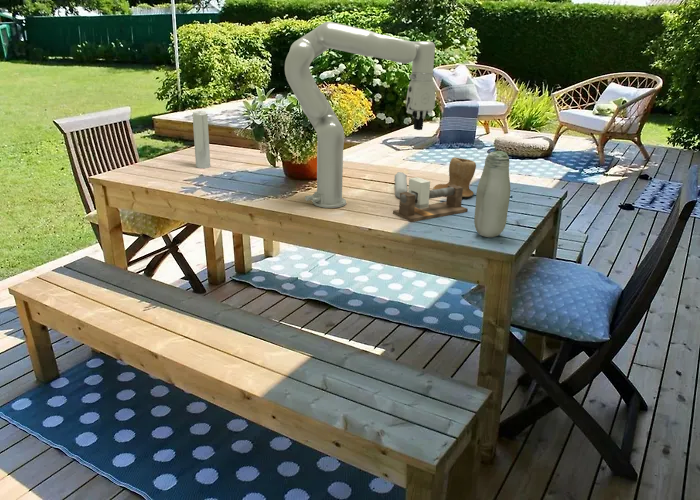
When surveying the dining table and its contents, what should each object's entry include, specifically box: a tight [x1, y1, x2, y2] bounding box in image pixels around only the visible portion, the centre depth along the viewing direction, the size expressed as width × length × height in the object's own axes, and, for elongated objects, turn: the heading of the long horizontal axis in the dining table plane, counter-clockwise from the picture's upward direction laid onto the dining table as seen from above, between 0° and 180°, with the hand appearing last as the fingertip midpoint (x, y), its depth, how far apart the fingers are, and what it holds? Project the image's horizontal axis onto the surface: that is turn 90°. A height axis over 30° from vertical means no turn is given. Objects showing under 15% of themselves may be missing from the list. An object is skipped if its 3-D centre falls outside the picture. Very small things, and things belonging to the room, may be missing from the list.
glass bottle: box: [473, 150, 511, 238], centre depth 195 cm, size 10×10×28 cm
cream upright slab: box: [407, 176, 431, 209], centre depth 217 cm, size 4×7×10 cm, turn 32°
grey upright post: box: [192, 110, 211, 169], centre depth 276 cm, size 6×6×25 cm
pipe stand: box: [392, 185, 468, 223], centre depth 221 cm, size 26×11×9 cm, turn 122°
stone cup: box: [432, 156, 477, 198], centre depth 245 cm, size 15×12×15 cm
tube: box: [393, 171, 408, 199], centre depth 249 cm, size 5×5×25 cm
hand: (418, 129), depth 224 cm, fingers closed
